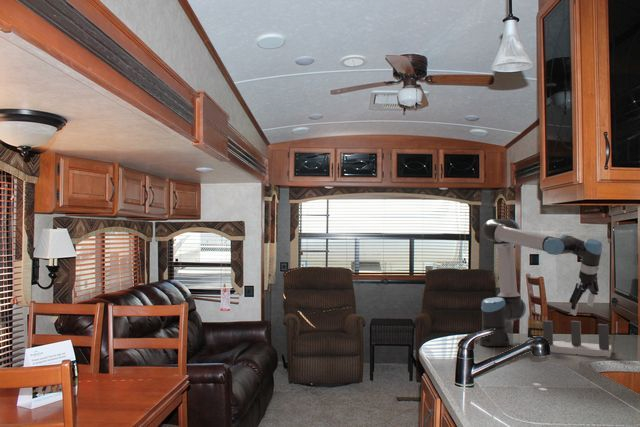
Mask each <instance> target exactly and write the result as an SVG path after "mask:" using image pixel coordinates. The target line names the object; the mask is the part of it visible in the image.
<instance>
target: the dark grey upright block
mask: <svg viewBox="0 0 640 427" xmlns="http://www.w3.org/2000/svg"><path fill="white" fill-rule="evenodd" d="M581 325H582V324H581V321H580V320H571V321H570V335H571V337H570V339H571V342H572V345H581V343H582V329H581Z"/></svg>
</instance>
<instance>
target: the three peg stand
mask: <svg viewBox="0 0 640 427" xmlns="http://www.w3.org/2000/svg"><path fill="white" fill-rule="evenodd" d="M597 326H598V327H597V328H598V343H587V342H581V345H572V341H567V340H566V341H563V340H562V341H561V340H554V331H553V330H554V327H553V320H548V321H546V320H545V319H544V320H543V337H544V338H545V339H547V341H548V342H549V344H550V347H551V352H550V353H557V354H564V355H565V354H568V355H576V354H578V355H577V356H588V357H589V356H590V357H591V356H592V357H599V356H608V357H607V358H611V357H612V352H613V351H612V345H611V344H610V332H609V324H608V323H604V324H603V323H598V324H597ZM611 351H612V352H611ZM610 356H611V357H610Z"/></svg>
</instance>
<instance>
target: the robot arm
mask: <svg viewBox="0 0 640 427" xmlns="http://www.w3.org/2000/svg"><path fill="white" fill-rule="evenodd" d="M481 233H482V235H483V237H484V238H485V239H486V240H488V241H492V242H493V246H494V247H496V253H497V264H498V265H497V266H498V277H499V278H498V279H499V280H498V281H499V293H498V294H497V296H496V297H494V296H493V297H488V298H484V299H483V300H482V301H481V307H480V308H481V327H482V329H481V331H482V330H485V329H490V328H496V331H495V333H494V334H491V335H488V336H485V337H481V338H480V337H479V339H478V344H479V345H480V346H483V345H484V346H483V347H488V346H494V347H493V348H496V347H495V346H507V347H509V346H510V345H511V340H510V337H509V334H508V332H507V328H506V327H507V322H508V323H509V322H515V321H517V320H520V319H522V318H523V317H524V316H525V314H526V311H527V307H526V303H525V302H524V300H523V299H522V298H521V296H522V295H521V294H520V293H519V292H518V286H517V272H516V257H515V246H516V245H518V246H521V247H525V248H528V249H529V248H530V249H533V250H538V251H542V252H544V253H547V254H549V255H553V256H556V255H557V256H558V255H566V254H567V255H568V254H571V255H575V256H577V257H580V258H581V262H580V267H579V273H578V278H579V279H580V282H579V283H577V282H576V283H575V288H574V290H573V291H572V294H571V297H570V299H569V300H568V303H570V304H571V306H570V307H571V308H570V312H569V313H570V315H572V316H577V313H578V308H579V301H580V300H581V298H582V297H583V294H584V293H586V292H587V290H589V292H588V298H587V303H586V305H587V306H589V307H591V308H593V307H594V303H595V297H596V296H598V294H599V291H600V290H599V284H598V283H599V282H598V271H599V267H600V261H601V255H602V254H603V253H602V252H603V243H602V241H600V240H599V239H594V238H587V239H585V240H582V239H580V238H576V237H575V236H571V235H567V234H562V235H561V236H560V237H554V236H551V235H545V234H543V233H542V234H541V233H536V232H531V231H527V230H523V229H520V226H519V224H518V223H517V221H515V220H513V219H510V218H491V219H487V221H486V222H484V223H483V225H482V227H481ZM508 345H509V346H508Z"/></svg>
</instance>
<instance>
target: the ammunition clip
mask: <svg viewBox="0 0 640 427" xmlns="http://www.w3.org/2000/svg"><path fill="white" fill-rule="evenodd" d="M527 319H528V320H527V337H528V338H534V337H533V336H543V320H546V321H549V319H548V316H547V315H546V316H545V318H544V315H538V317H537V315H535V317H534V315H533V314H532V315H530V314H528V318H527Z"/></svg>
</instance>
